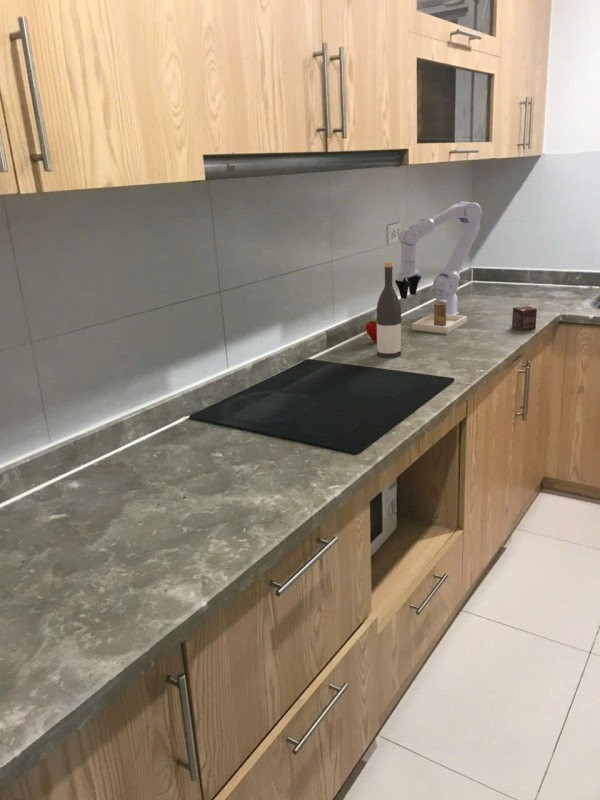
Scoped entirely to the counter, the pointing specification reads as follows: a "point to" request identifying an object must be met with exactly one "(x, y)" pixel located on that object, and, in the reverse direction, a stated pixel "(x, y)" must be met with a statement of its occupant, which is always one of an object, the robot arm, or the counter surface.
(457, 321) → the tray
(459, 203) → the robot arm
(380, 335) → the wine bottle
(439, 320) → the shaker
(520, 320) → the box
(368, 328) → the strawberry
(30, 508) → the counter surface
